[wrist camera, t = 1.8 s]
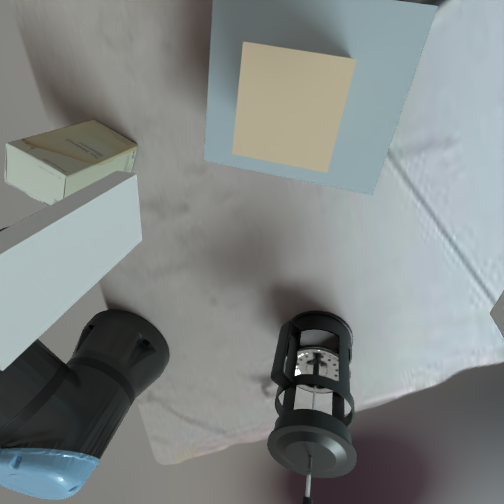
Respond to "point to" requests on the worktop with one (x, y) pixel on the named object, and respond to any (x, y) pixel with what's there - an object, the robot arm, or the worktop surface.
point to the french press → (317, 381)
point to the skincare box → (66, 160)
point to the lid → (311, 85)
